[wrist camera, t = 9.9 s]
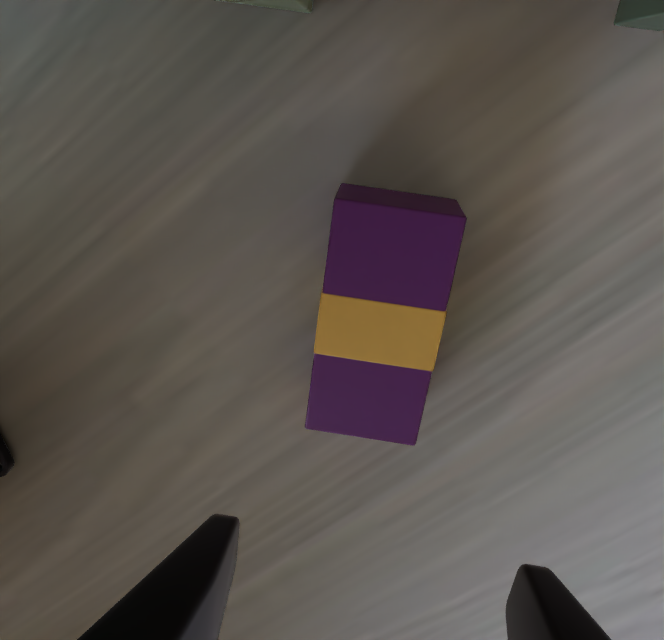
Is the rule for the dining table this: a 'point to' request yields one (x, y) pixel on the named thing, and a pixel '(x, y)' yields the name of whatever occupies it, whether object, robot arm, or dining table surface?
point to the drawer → (641, 14)
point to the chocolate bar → (382, 311)
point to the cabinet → (279, 4)
